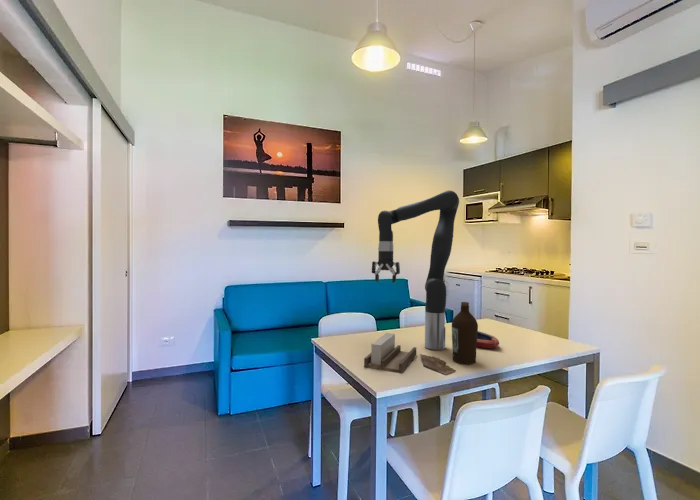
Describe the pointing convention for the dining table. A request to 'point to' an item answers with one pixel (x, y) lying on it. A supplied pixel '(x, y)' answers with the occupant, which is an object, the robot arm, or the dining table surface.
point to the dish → (486, 340)
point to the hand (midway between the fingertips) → (385, 282)
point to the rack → (393, 360)
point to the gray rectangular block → (382, 348)
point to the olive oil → (464, 336)
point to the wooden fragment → (436, 364)
